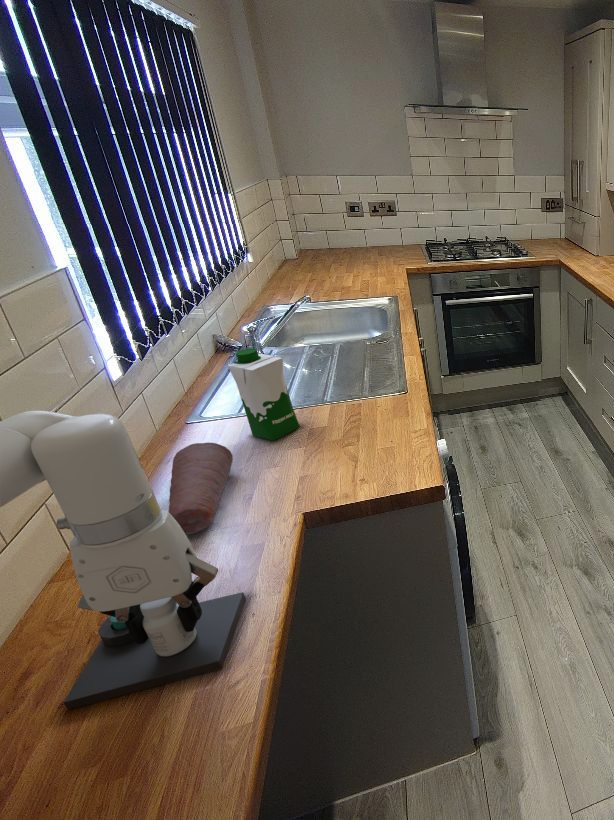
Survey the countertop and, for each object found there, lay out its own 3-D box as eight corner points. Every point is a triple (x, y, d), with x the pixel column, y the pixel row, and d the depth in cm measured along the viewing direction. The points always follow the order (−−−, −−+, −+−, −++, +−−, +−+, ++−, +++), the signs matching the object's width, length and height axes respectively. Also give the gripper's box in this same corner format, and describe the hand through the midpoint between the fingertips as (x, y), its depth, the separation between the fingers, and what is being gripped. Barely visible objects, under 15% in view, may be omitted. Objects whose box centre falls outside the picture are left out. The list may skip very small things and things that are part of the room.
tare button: (110, 633, 70) (105, 624, 69) (119, 616, 72) (115, 608, 71) (135, 626, 70) (131, 618, 70) (144, 610, 73) (140, 602, 72)
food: (182, 485, 104) (166, 447, 101) (238, 470, 109) (225, 433, 106) (171, 548, 88) (152, 505, 84) (237, 527, 92) (222, 485, 89)
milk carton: (279, 419, 129) (257, 343, 121) (306, 425, 126) (285, 348, 118) (246, 436, 122) (219, 357, 114) (273, 444, 119) (248, 362, 111)
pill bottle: (194, 623, 72) (175, 580, 69) (200, 642, 69) (180, 599, 66) (154, 642, 70) (132, 599, 66) (158, 664, 67) (136, 620, 64)
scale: (67, 710, 63) (57, 693, 62) (118, 625, 74) (109, 609, 73) (222, 668, 68) (215, 652, 66) (247, 594, 79) (241, 579, 77)
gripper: (3, 556, 55) (75, 674, 63) (191, 520, 60) (237, 633, 68) (45, 513, 62) (105, 625, 69) (211, 483, 67) (251, 590, 74)
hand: (170, 628), depth 68 cm, fingers closed on pill bottle, 4 cm apart
